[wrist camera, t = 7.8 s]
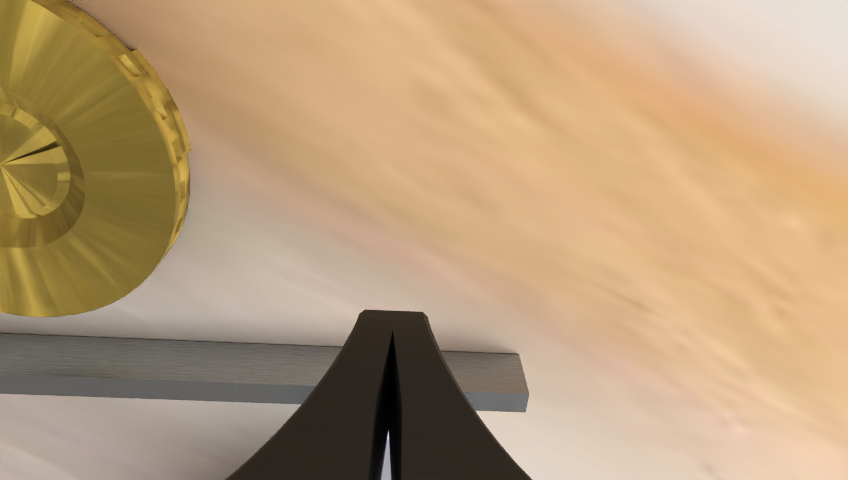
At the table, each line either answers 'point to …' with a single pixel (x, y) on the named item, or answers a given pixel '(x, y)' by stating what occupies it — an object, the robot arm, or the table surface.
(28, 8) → the gold round shallow dish
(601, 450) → the table surface
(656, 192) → the table surface
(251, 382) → the bay
